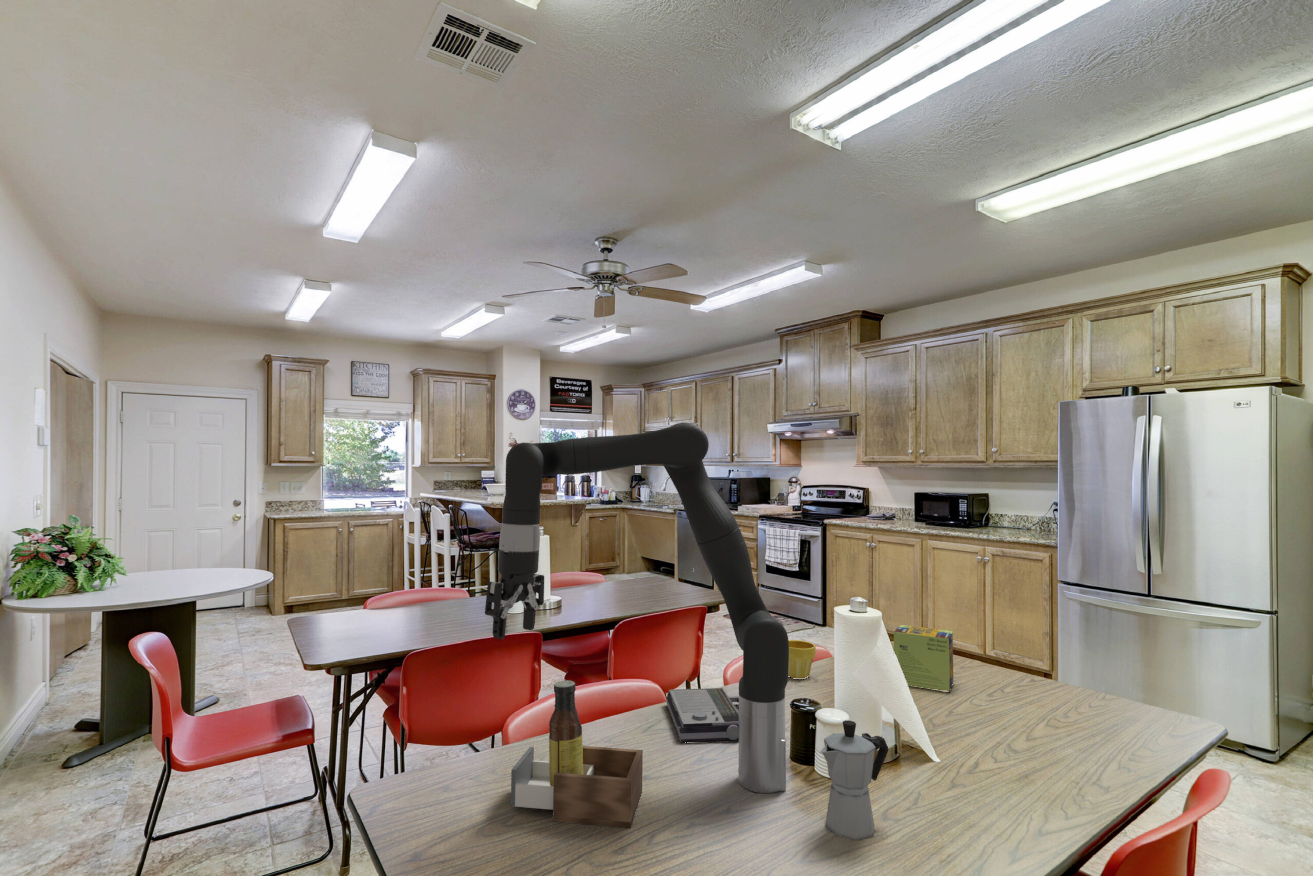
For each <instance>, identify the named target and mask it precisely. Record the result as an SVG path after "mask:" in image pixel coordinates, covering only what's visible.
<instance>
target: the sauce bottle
mask: <svg viewBox="0 0 1313 876" xmlns="http://www.w3.org/2000/svg"><path fill="white" fill-rule="evenodd" d="M553 692H554V710H553V713H552V715H551V717H550V719H549V721H548V722H549V724H548V726H549V728H548V729H549V735H548V758H549V768H550V786H553V785H554V774H555V772H557V773H570V774H583V746H584V745H583V727H582V723H581V721H580V717H579V715H578V711H577V708H576V698H575V696H576V695H575V693H576V682H575V681H572V680H560V681H556V682H554V684H553Z"/></svg>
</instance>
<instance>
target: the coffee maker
mask: <svg viewBox="0 0 1313 876" xmlns="http://www.w3.org/2000/svg"><path fill="white" fill-rule="evenodd" d="M842 725H843V726H842V727H843V732H844V733H838V732H835V733H834V732H833V733H832V734H830V735H827V736H826V737H825V738H823V743H824V746H823V748H822V749H820V751H819V753H820V754H822V755H823V757H824V759H825V762H826V764H827V767H826V768H827V774H828V777H829V778H830V780H831V784H830V790H829V796H828V802H827V811H826V817H825V825H824V827H825V828H827V829H828V830H829V831H830V832H831V833H833V834H834V835H835V836H836V837H839V838H845V839H850V840H853V841H861V840H864V839H868V838H872V837H874V834H875V833H874V832H875V822H874V816H873V810H872V803H871V797H870V796H871V795H870V790H869V784H871V783H872V780H873V781H874V782H876V781H877V779H878V778H879V777H878V776H879V774H880V772H881V770H882V767H883V764H884V762H885V760H886V757H887V755H888V753H889V746H888V744H887V741H886V739H885V738H884V737H882V736H880V735H874V736H871V735H870V734H869V733H868V732H864V733H861V735H858V734H855V733H856V728H857V723H856V721H853V720H847V719H846V720H843V721H842ZM876 751H877V753H876ZM875 754H876V756H875Z"/></svg>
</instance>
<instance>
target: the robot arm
mask: <svg viewBox="0 0 1313 876" xmlns="http://www.w3.org/2000/svg"><path fill="white" fill-rule="evenodd" d="M709 446H710V445H709V438H708V435H707V434H706V432H705V431H704V430H703V429H702V428H701V427H700V426H698V425H697V424H694V423H691V422H678V423H675V424H673V425H669V427H668V426H667V427H665V428H660V429H656V430H652V431H647V432H641V433H632V434H621V435H619V434H618V435H603V436H589V437H586V436H585V437H576V438H575V437H574V438H568V439H562V440H558V441H553V442H552V441H551V442H535V443H532V442H520V443H517V444H515V445H513V446H512V447H511V448H510V449H509V451H508V452H507V454H506V458H505V487H504V488H505V495H504V499H503V503H502V504H503V505H502V517H501V520H502V521H501V522H502V523H501V528H500V532H499V533H500V534H499V543H498V546H499V547H498V560H497V571H498V572H499V574H500V577H501V578H500V580H499V581H497V582H495V581H489V582H487V588H486V598H485V605H484V607H485V608H484V615H485V616H489V617H492V618H493V620H492V636H493V638H494V639H496V640H504V639H505V637H506V626H507V625H506V623H507V618H506V616H507V615H508V612H509V611H510V609H512V608H513V607H514V605H515V604H518V603H519V602H521V603H522V605H523V607H524V609H523V621H522V628H523V629H524V630H526V631H532V630H534V629H535V624H536V613H537V610H538V609H539V606H543V605H544V603H545V575H544V574H538V571H539V563H540V560H539V559H540V544H541V543H540V541H541V532H540V522H541V520H540V519H541V491H542V483H543V478H544V477H551V476H557V475H561V476H562V475H566V476H569V475H570V476H571V475H583V474H591V473H601V472H607V471H611V470H617V469H624V468H628V467H629V468H630V467H635V466H646V465H647V466H648V465H662V466H663V467H664V469H665V471H666V472H667V475H668V476H669V478H670V480H671V481H672V482H671V483H672V484H673V486H674V487H675V489H676V493H678V495H679V499H680V501H681V503H682V505H683V506H682V507H683V510H684V512H685V516H686V517H687V521H688V523H689V526H690V528H691V531H692V534H693V537H694V538H695V542H696V544H697V546H698V547H697V548H699V552H700V554H701V556H702V558H703V560H704V563H705V565H706V567H707V569H708V571H709V574H710V576H711V577H712V580H713V582H714V583H715V585H716V586H717V589H718V590H719V592H720V594H721V596H722V597H723V598H722V599H723V600H724V603H725V606H726V609H727V612H728V616H729V619H730V621H731V625H732V629H733V632H734V635H735V641H736V642H737V644H738V646H739V647H740V649H741V650H742V653H743V655H742V656H743V658H742V675H741V676H742V677H740V679H739V682H738V696H739V703H738V712H739V741H738V768H737V769H738V770H737V772H738V773H737V774H738V783H739V785H740V786H741V787H743V788H744V789H746V790H748V791H750V792H755V793H759V794H761V793H762V794H772V793H776V792H783V791H784V792H786V790H787V788H786V787H787V760H786V759H787V756H786V755H787V747H786V745H787V743H786V742H787V741H786V687H787V685H788V682H789V677H788V668H789V640H790V639H789V636H788V632H787V630H786V628H785V627H784V625H783V624H782V623H781V622H780V621H778V620H777V619H776V618H775V617H773V615H772V614H771V613H770V612H769V609H768V608H767V606H766V604H765V603H764V602H765V601H764V600H763V599H762V597H761V594H760V593H759V590H758V587H757V586H756V582H755V579H754V574H753V570H752V569H753V568H752V563H751V557H750V554H749V550H748V549H749V548H748V545H747V544H746V540H745V537H744V536H743V533H742V531H741V528H740V526H739V524H738V522H737V520H736V518H735V516H734V514H733V512H732V511H731V509H730V508H729V506H728V505H727V504H726V502H725V501H724V500H723V498H722V497H721V496H720V494H719V493H718V492H717V490H716V489H715V487H714V485H713V484H712V482H711V480H710V478H709V475H708V473H707V469H706V468H705V465H704V460H705V457H707V454H708V451H709ZM537 594H538V595H537ZM492 607H493V608H492Z"/></svg>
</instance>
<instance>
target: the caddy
mask: <svg viewBox="0 0 1313 876" xmlns="http://www.w3.org/2000/svg"><path fill="white" fill-rule="evenodd" d="M643 751H644V750H643V749H633V748H632V749H631V748H620V747H618V748H617V747H605V746H604V747H603V746H590V745H583V764H589V765H594V775H583V774H570V773H557V772H555V774H554V785H553V810H552V822H556V821H557V823H559V822H560V823H567V822H568V824H580V825H590V824H591V825H592V826H601V825H602V827H603V826H605V827H614V828H623V829H625V828H627V829H631V828H632V825H633V822H634V819H635V815H636V813H635V812H637V810H638V807H639V804H638V803H640V801H641V798H642V795H643V763H644V762H643V757H644V756H643ZM641 794H642V795H641ZM640 797H641V798H640ZM639 800H640V801H639ZM637 806H638V807H637ZM636 809H637V810H636ZM591 825H590V826H591Z"/></svg>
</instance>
